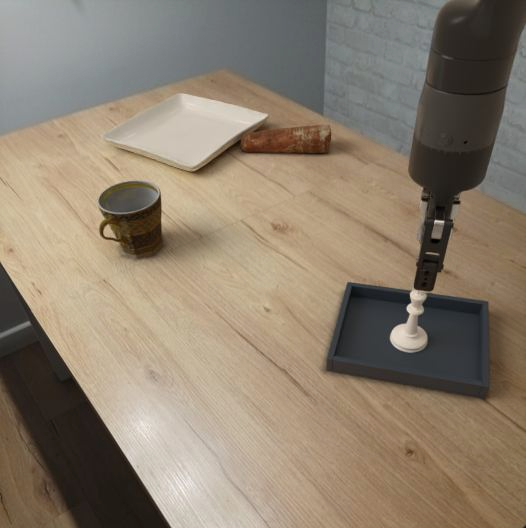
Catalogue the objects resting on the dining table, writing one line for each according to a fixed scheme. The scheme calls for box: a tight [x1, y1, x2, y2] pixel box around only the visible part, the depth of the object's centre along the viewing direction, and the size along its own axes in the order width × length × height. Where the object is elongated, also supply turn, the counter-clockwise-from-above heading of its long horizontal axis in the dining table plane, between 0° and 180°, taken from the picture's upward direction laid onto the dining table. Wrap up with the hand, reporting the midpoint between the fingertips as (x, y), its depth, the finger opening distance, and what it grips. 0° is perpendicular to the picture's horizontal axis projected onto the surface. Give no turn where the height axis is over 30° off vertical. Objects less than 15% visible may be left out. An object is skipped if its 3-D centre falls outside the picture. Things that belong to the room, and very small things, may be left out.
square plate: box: [99, 92, 270, 172], centre depth 114 cm, size 27×27×4 cm
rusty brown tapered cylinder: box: [240, 124, 332, 154], centre depth 108 cm, size 6×19×6 cm, turn 82°
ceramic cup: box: [96, 179, 163, 260], centre depth 84 cm, size 13×10×10 cm
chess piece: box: [390, 284, 428, 353], centre depth 66 cm, size 5×5×10 cm
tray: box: [325, 281, 490, 400], centre depth 69 cm, size 20×16×3 cm
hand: (425, 265), depth 61 cm, fingers open, 8 cm apart
